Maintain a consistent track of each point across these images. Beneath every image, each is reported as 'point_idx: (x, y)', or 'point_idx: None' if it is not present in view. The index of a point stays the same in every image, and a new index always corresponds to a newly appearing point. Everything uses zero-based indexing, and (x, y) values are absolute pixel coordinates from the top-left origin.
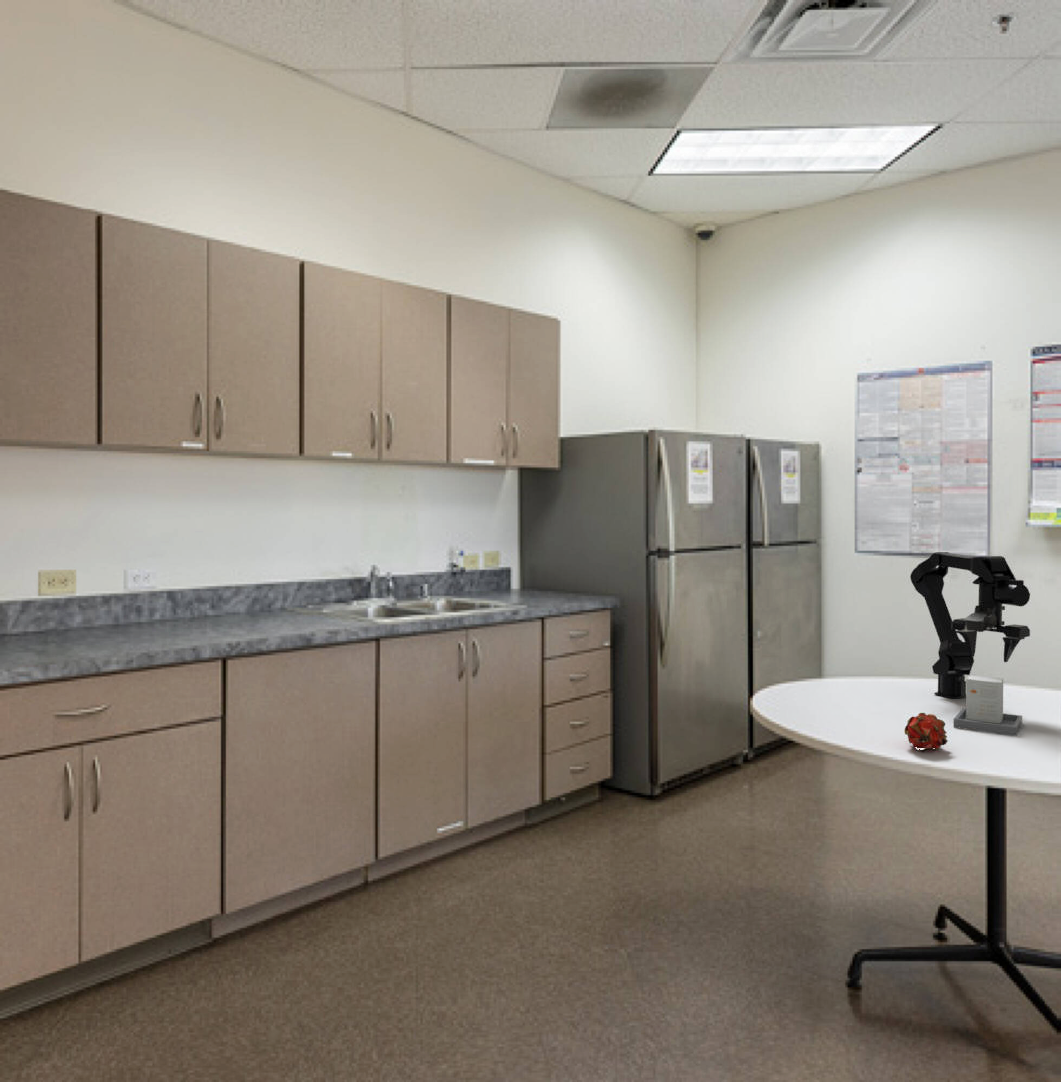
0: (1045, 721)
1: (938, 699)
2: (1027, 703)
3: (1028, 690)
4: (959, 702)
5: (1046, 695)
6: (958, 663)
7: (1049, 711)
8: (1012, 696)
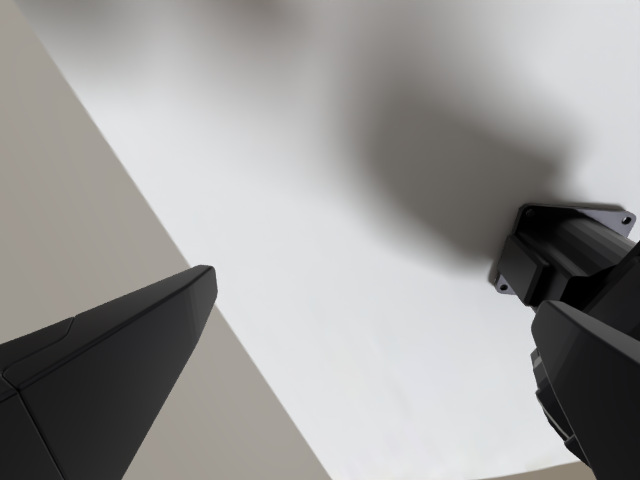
0: (114, 117)
1: (588, 138)
2: (304, 332)
3: (382, 468)
4: (484, 159)
5: (323, 446)
6: (631, 294)
7: None
8: (379, 385)
